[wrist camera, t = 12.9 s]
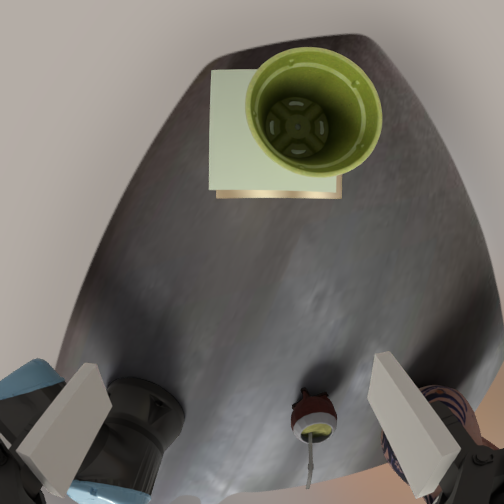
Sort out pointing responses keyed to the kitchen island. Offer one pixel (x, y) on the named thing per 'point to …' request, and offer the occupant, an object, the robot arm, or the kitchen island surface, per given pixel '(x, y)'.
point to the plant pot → (313, 111)
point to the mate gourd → (313, 422)
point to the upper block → (247, 143)
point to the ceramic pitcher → (459, 410)
